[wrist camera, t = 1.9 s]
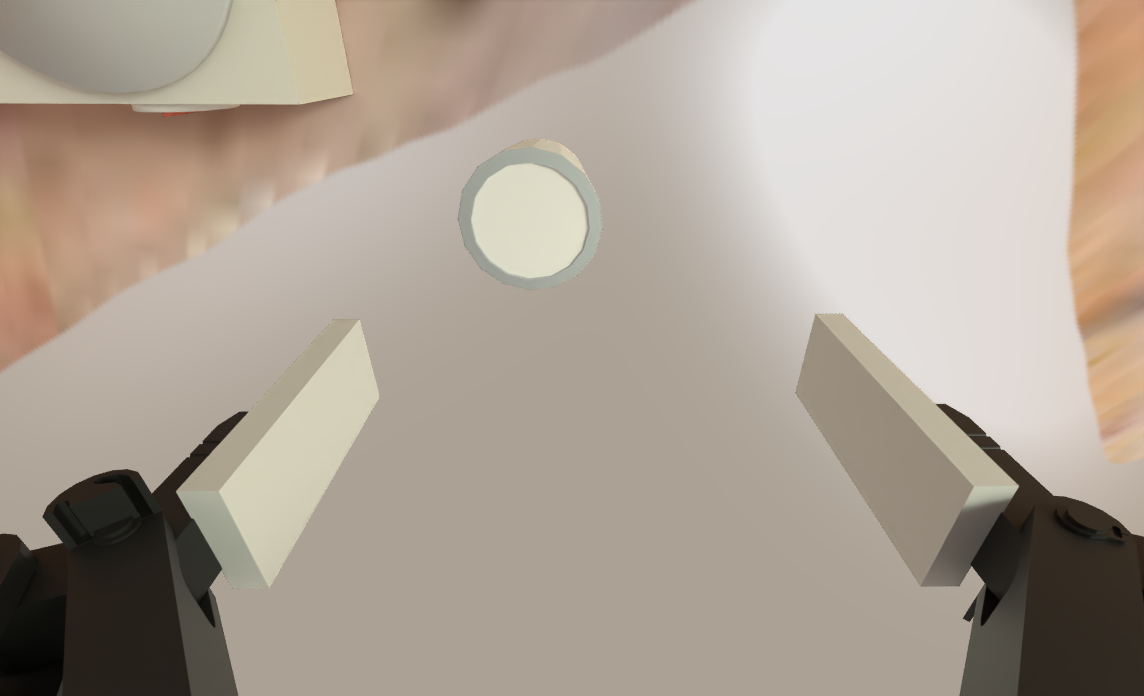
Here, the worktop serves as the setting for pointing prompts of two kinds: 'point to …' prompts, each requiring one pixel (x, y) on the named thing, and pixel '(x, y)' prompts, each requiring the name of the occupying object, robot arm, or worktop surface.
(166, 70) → the kitchen scale
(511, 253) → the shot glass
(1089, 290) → the worktop surface
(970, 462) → the robot arm
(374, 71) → the worktop surface
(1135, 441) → the worktop surface
